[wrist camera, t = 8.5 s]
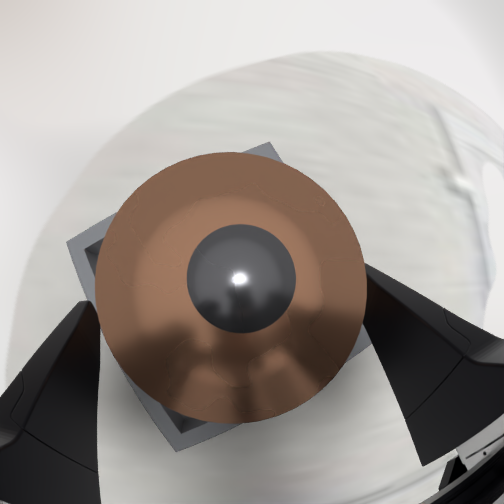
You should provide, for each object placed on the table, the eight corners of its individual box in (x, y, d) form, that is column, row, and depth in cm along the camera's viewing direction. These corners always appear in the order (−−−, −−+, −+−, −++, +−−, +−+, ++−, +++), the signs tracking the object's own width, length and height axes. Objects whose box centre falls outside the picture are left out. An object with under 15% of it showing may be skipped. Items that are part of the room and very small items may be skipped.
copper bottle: (285, 287, 18) (445, 242, 5) (231, 363, 17) (281, 502, 4) (210, 232, 18) (211, 68, 5) (154, 306, 17) (10, 306, 4)
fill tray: (356, 334, 19) (378, 338, 16) (180, 431, 16) (176, 452, 13) (262, 162, 20) (269, 141, 17) (85, 250, 17) (66, 242, 14)
